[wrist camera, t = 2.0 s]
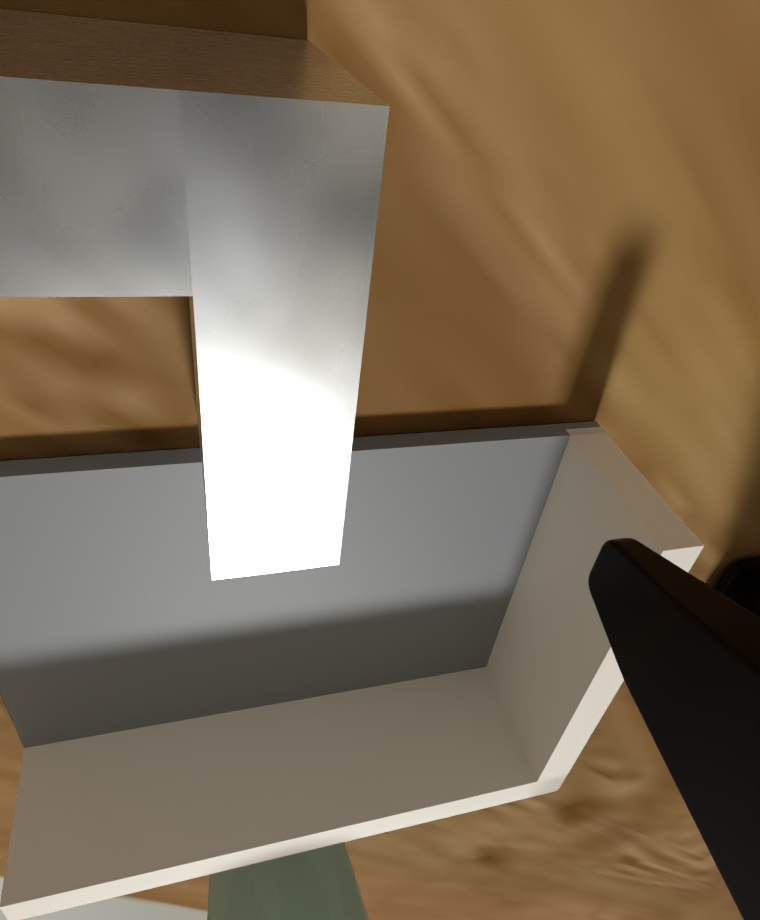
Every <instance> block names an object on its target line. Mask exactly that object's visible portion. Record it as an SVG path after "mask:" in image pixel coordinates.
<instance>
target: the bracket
mask: <svg viewBox="0 0 760 920" xmlns="http://www.w3.org/2000/svg"><path fill="white" fill-rule="evenodd" d="M388 115H389V105H387V104H386V103H385V102H384V101H382V100H381V99H380V98H379V97H378V96H376V95H375V94H374V93H373V92H371V91H370V90H369V89H368V88H366V87H365V86H364V85H363V84H362V83H360V82H359V81H358V80H357V79H355V78H354V77H353V76H352V75H350V74H349V73H348V72H347V71H346V70H344V69H343V68H342V67H341V66H339V65H338V64H337V63H336V62H334V61H333V60H332V59H331V58H330V57H328V56H327V55H326V54H325V53H323V52H322V51H321V50H320V49H318V48H317V47H316V46H315V45H313V44H312V43H311V42H310V41H309V40H304V39H294V38H285V37H275V36H265V35H255V34H245V33H235V32H226V31H216V30H206V29H196V28H186V27H177V26H167V25H157V24H147V23H137V22H128V21H118V20H108V19H98V18H88V17H78V16H69V15H59V14H49V13H39V12H29V11H20V10H10V9H0V297H126V296H189V309H190V323H191V337H192V351H193V365H194V379H195V393H196V407H197V419H198V430H199V442H200V453H201V464H202V475H203V486H204V497H205V508H206V520H207V531H208V542H209V553H210V564H211V575H212V580H217V579H225V578H233V577H241V576H250V575H258V574H266V573H274V572H283V571H291V570H299V569H307V568H316V567H324V566H332V565H339V560H340V551H341V542H342V533H343V524H344V515H345V506H346V497H347V488H348V479H349V469H350V460H351V451H352V442H353V433H354V424H355V415H356V406H357V397H358V388H359V379H360V370H361V360H362V351H363V342H364V333H365V324H366V315H367V306H368V297H369V288H370V279H371V270H372V261H373V251H374V242H375V233H376V224H377V215H378V206H379V197H380V188H381V179H382V170H383V161H384V152H385V142H386V133H387V124H388Z"/></svg>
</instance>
